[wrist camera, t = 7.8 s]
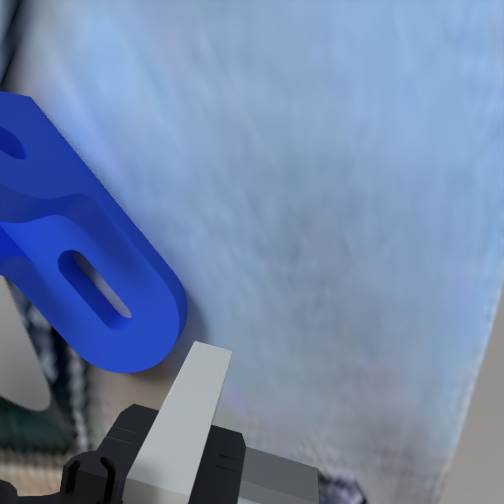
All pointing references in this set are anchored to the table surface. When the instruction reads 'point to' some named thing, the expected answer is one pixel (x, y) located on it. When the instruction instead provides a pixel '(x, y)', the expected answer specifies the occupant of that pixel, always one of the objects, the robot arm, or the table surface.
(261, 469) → the keypad housing
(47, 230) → the bracket
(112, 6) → the table surface
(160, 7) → the table surface
